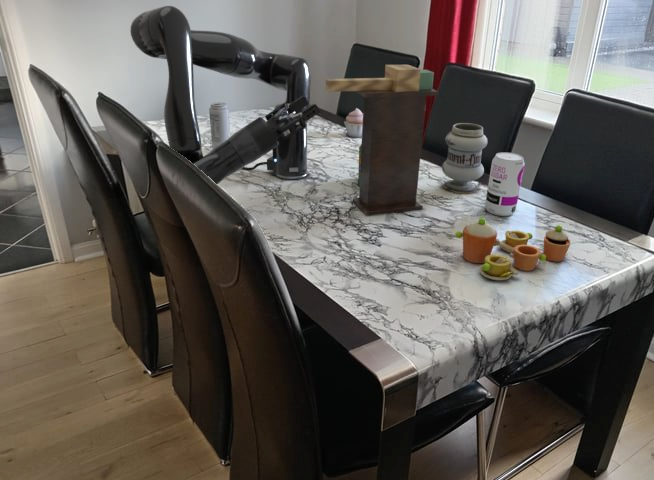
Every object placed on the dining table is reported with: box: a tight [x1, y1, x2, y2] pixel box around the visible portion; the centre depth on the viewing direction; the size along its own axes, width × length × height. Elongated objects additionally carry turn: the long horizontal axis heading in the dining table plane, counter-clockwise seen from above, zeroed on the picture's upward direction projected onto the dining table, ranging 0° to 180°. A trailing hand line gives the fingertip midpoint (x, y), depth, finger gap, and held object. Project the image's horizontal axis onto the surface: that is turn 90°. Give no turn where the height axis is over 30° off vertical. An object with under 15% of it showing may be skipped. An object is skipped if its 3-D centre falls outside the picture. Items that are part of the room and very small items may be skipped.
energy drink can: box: [208, 102, 231, 150], centre depth 185 cm, size 6×6×15 cm
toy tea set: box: [455, 217, 572, 281], centre depth 127 cm, size 26×16×10 cm, turn 122°
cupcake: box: [343, 107, 363, 138], centre depth 212 cm, size 9×9×10 cm
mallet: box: [325, 64, 422, 93], centre depth 136 cm, size 22×7×5 cm, turn 113°
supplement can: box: [484, 151, 526, 217], centre depth 151 cm, size 8×8×15 cm
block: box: [419, 69, 435, 90], centre depth 141 cm, size 4×4×4 cm
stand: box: [352, 88, 439, 216], centre depth 147 cm, size 19×10×30 cm, turn 113°
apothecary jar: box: [441, 122, 488, 194], centre depth 165 cm, size 12×12×18 cm
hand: (311, 103), depth 133 cm, fingers open, 8 cm apart
